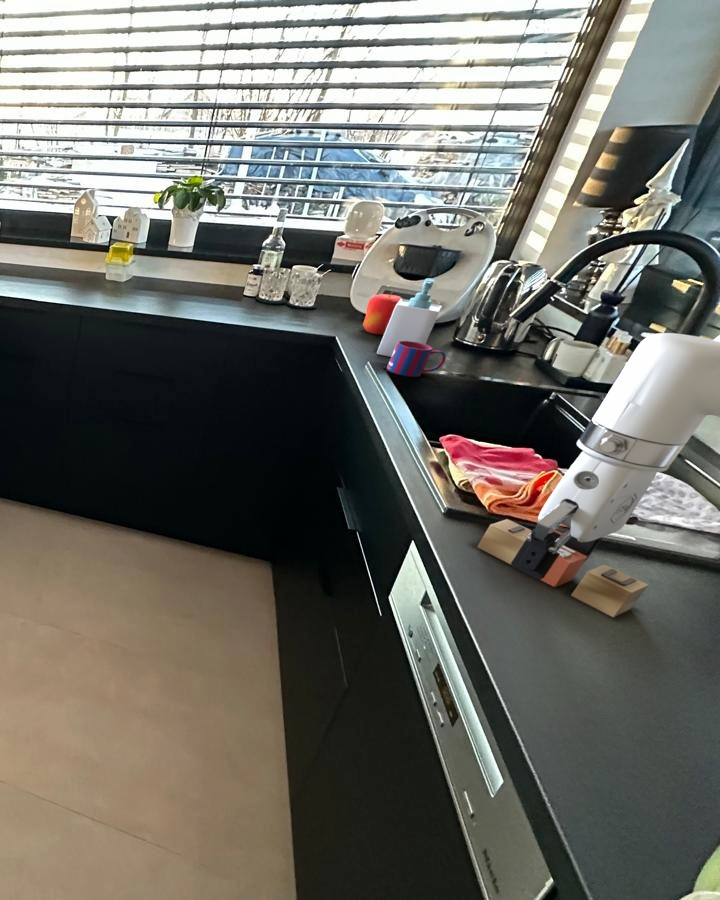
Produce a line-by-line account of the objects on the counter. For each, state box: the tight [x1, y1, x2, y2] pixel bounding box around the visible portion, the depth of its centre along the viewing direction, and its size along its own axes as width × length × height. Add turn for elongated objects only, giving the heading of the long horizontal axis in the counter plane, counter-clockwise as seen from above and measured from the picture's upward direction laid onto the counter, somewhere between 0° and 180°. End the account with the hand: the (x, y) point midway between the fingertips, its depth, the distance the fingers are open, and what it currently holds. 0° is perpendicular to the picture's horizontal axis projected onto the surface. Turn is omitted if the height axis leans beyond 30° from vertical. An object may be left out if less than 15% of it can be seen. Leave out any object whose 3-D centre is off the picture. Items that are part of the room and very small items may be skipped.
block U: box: [570, 564, 649, 618], centre depth 74 cm, size 4×4×4 cm
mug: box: [386, 341, 447, 378], centre depth 145 cm, size 7×10×7 cm
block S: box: [539, 545, 587, 588], centre depth 78 cm, size 4×4×4 cm
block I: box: [477, 518, 532, 565], centre depth 82 cm, size 4×4×4 cm
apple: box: [362, 291, 404, 336], centre depth 175 cm, size 9×8×12 cm
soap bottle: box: [376, 277, 442, 358], centre depth 155 cm, size 9×9×19 cm
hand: (547, 563), depth 78 cm, fingers open, 9 cm apart
